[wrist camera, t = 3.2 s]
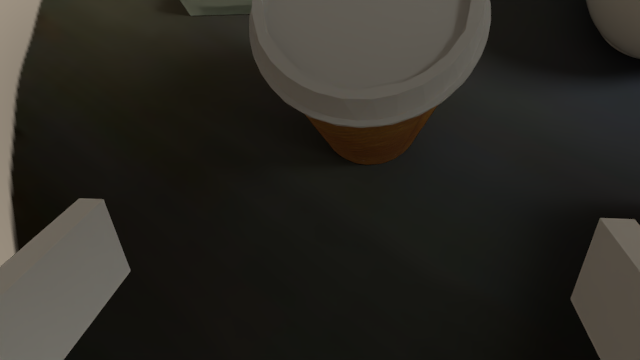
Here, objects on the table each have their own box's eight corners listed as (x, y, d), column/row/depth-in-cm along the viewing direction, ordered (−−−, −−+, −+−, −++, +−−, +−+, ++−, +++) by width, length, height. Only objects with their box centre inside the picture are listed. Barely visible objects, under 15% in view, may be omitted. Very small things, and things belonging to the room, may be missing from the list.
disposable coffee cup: (291, 65, 28) (231, -84, 17) (431, 41, 27) (469, -135, 16) (305, 200, 26) (247, 133, 14) (459, 178, 25) (530, 87, 13)
